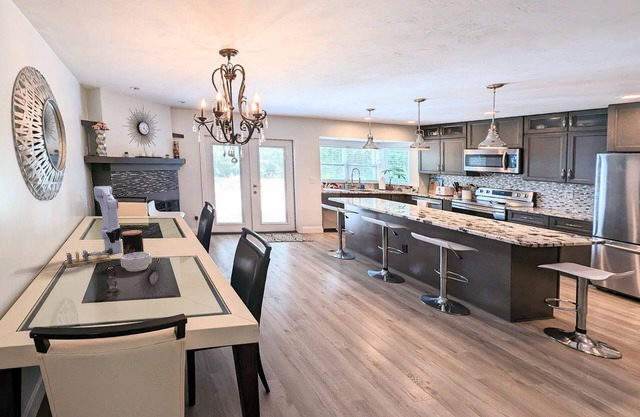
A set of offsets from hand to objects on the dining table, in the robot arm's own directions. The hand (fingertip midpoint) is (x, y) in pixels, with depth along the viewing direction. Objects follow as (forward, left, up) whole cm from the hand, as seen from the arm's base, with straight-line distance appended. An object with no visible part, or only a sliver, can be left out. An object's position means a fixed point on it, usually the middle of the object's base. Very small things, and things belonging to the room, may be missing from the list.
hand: (115, 241), depth 240 cm
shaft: (+10, +2, -7) cm, 12 cm away
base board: (+15, +2, -10) cm, 18 cm away
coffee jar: (-5, +22, -10) cm, 24 cm away
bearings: (+21, +2, -8) cm, 22 cm away
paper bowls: (-2, +38, -10) cm, 39 cm away
